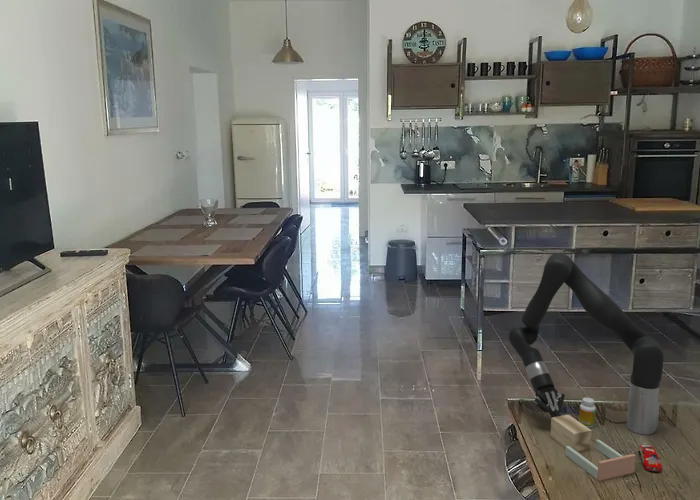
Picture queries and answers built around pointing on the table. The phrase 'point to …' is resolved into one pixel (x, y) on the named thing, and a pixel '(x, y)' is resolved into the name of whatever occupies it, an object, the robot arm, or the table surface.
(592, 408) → the supplement bottle
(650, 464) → the race car
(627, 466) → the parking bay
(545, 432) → the table surface
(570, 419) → the oak block
